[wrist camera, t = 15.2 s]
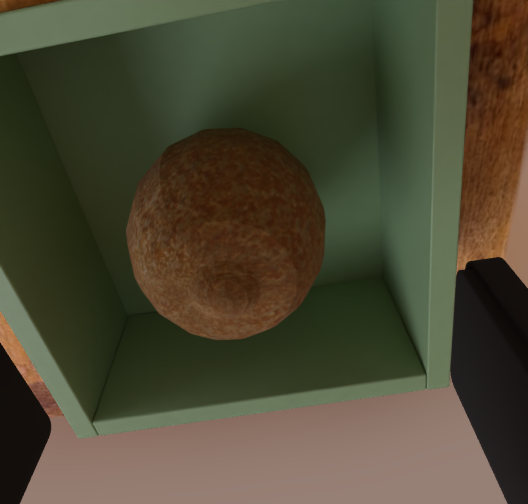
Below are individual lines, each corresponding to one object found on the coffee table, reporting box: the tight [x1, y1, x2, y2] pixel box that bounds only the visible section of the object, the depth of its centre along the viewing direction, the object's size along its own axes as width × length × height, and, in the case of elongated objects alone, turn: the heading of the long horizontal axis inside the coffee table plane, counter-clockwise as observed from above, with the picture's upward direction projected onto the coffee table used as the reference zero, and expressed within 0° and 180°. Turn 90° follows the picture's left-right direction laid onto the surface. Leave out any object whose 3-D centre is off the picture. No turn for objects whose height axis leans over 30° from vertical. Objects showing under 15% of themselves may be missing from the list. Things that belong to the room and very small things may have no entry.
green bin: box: [0, 0, 473, 438], centre depth 16 cm, size 14×14×7 cm
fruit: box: [126, 128, 326, 340], centre depth 15 cm, size 6×6×8 cm
